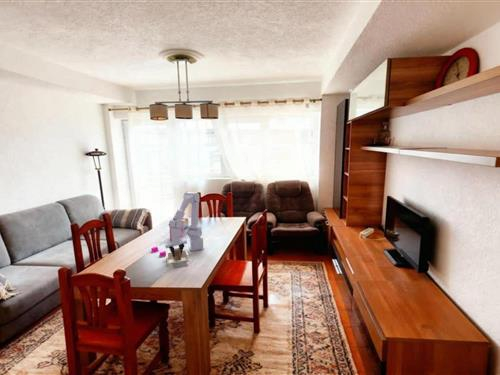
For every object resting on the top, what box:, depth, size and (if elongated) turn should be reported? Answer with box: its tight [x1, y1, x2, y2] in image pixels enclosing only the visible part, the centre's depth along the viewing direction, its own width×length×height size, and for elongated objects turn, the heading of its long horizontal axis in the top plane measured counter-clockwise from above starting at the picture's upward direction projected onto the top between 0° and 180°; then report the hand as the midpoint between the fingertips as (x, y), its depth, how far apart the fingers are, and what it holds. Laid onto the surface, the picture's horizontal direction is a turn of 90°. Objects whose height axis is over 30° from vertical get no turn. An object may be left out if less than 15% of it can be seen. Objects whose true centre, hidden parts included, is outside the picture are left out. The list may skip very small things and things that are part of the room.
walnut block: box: [174, 247, 181, 261], centre depth 186 cm, size 4×4×7 cm
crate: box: [165, 249, 189, 265], centre depth 187 cm, size 14×10×4 cm
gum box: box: [169, 217, 190, 240], centre depth 237 cm, size 22×7×13 cm, turn 166°
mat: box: [172, 261, 189, 269], centre depth 178 cm, size 9×7×1 cm
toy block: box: [151, 246, 167, 257], centre depth 198 cm, size 15×6×8 cm, turn 46°
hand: (177, 255), depth 186 cm, fingers open, 4 cm apart
